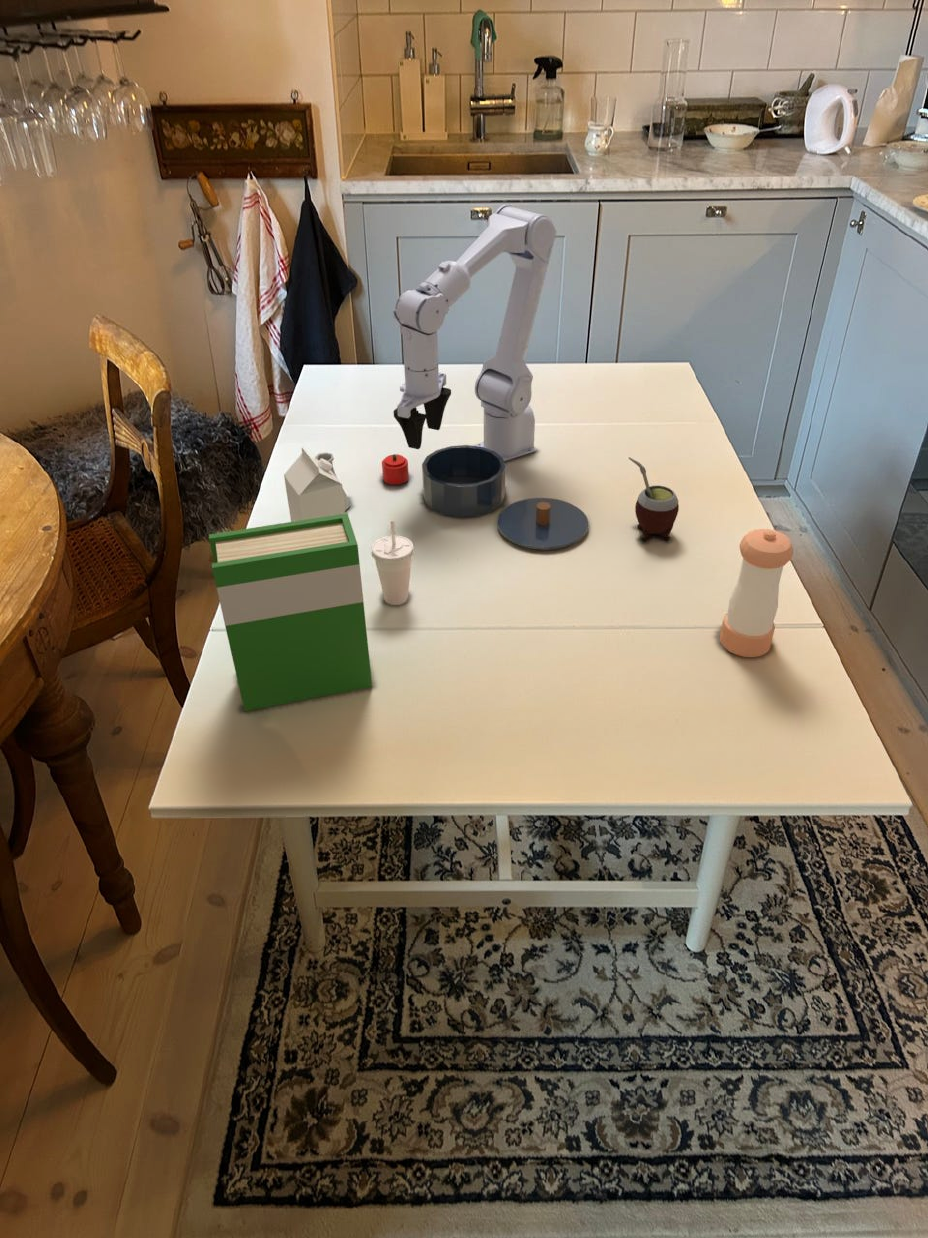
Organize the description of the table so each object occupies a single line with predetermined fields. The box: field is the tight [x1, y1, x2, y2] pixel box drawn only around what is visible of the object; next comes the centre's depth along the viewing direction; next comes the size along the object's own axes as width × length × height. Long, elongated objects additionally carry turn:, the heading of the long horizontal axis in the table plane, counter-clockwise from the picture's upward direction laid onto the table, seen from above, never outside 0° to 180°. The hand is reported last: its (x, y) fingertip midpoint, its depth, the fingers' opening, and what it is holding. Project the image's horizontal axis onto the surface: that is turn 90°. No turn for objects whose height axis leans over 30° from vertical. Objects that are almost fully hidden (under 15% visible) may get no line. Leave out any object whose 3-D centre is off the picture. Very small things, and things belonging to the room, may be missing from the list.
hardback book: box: [208, 512, 373, 712], centre depth 124 cm, size 18×7×24 cm, turn 105°
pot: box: [421, 444, 507, 518], centre depth 168 cm, size 15×15×6 cm
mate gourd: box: [628, 456, 680, 543], centre depth 155 cm, size 8×8×15 cm
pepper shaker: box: [719, 528, 794, 658], centre depth 131 cm, size 7×7×19 cm
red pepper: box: [381, 453, 410, 485], centre depth 173 cm, size 5×5×5 cm
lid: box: [497, 497, 589, 550], centre depth 160 cm, size 16×16×4 cm
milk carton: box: [283, 446, 346, 522], centre depth 149 cm, size 7×7×19 cm
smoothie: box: [370, 518, 415, 606], centre depth 142 cm, size 6×6×14 cm
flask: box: [314, 452, 351, 511], centre depth 165 cm, size 7×7×10 cm
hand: (424, 437), depth 166 cm, fingers open, 7 cm apart
